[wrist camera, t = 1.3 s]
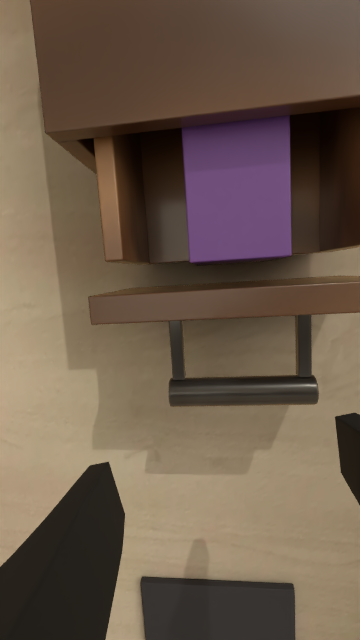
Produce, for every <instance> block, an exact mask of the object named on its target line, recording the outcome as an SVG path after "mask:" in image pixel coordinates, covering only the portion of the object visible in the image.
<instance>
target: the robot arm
mask: <svg viewBox="0 0 360 640" xmlns="http://www.w3.org/2000/svg"><path fill="white" fill-rule="evenodd" d="M335 420H336V430H337V439H338V448H339V458H340V467H341V473H342V475H343V477H344V479H345V480H346V482H347V484H348V486H349V487H350V489H351V491H352V493H353V494H354V496H355V498H356V499H357V501H358V503H359V505H360V415H359V414H357V413H351V414H346V415H341V416H336V417H335ZM124 521H125V513H124V510H123V506H122V503H121V500H120V497H119V493H118V490H117V487H116V484H115V481H114V477H113V474H112V471H111V468H110V464H109V462H105V463H100V464H95V465H90V466H89V467H88V468H87V470H86V471H85V472H84V473H83V474H82V475H81V477H80V478H79V479H78V480H77V481H76V483H75V484H74V485H73V486H72V487H71V489H70V490H69V491H68V492H67V493H66V495H65V496H64V497H63V498H62V499H61V501H60V502H59V503H58V504H57V505H56V507H55V508H54V509H53V510H52V511H51V513H50V514H49V515H48V516H47V517H46V518H45V520H44V521H43V522H42V523H41V524H40V525H39V526H38V527H37V528H36V530H35V531H34V532H33V533H32V534H31V535H30V536H29V537H28V538H27V539H26V541H25V542H24V543H23V544H22V545H21V546H20V547H19V548H18V549H17V550H16V552H15V553H14V554H13V555H12V556H11V557H10V558H9V559H8V560H7V561H6V562H5V563H4V564H3V565H2V566H1V567H0V640H105V639H106V633H107V628H108V623H109V618H110V613H111V607H112V602H113V597H114V592H115V587H116V581H117V576H118V571H119V565H120V560H121V554H122V547H123V536H124Z"/></svg>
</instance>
